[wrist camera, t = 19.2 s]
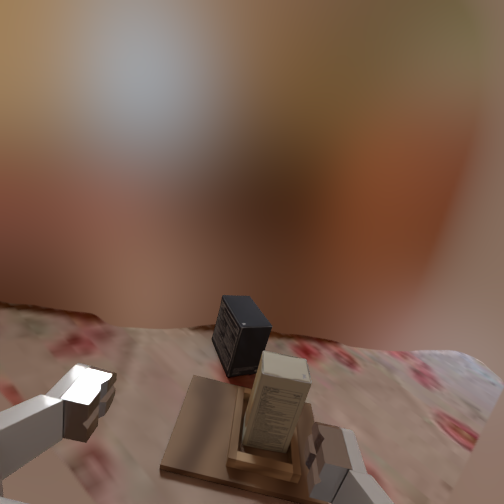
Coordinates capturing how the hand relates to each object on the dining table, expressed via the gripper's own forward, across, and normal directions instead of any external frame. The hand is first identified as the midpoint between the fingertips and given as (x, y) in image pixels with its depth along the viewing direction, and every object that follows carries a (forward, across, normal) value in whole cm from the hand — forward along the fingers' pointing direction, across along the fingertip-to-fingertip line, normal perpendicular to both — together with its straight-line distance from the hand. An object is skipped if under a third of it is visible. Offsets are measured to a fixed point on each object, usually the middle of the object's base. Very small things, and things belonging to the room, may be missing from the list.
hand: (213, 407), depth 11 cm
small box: (+35, -2, +26) cm, 44 cm away
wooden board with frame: (+20, -6, +26) cm, 33 cm away
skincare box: (+20, -8, +25) cm, 33 cm away
